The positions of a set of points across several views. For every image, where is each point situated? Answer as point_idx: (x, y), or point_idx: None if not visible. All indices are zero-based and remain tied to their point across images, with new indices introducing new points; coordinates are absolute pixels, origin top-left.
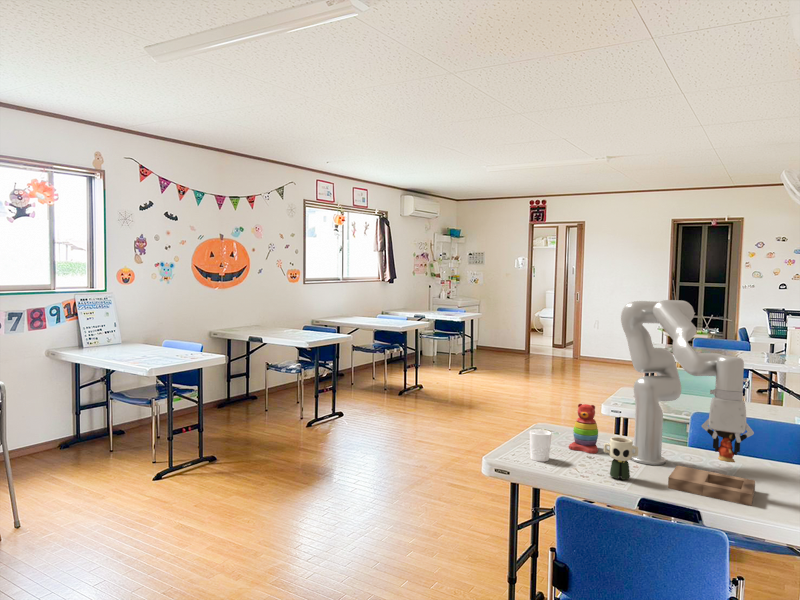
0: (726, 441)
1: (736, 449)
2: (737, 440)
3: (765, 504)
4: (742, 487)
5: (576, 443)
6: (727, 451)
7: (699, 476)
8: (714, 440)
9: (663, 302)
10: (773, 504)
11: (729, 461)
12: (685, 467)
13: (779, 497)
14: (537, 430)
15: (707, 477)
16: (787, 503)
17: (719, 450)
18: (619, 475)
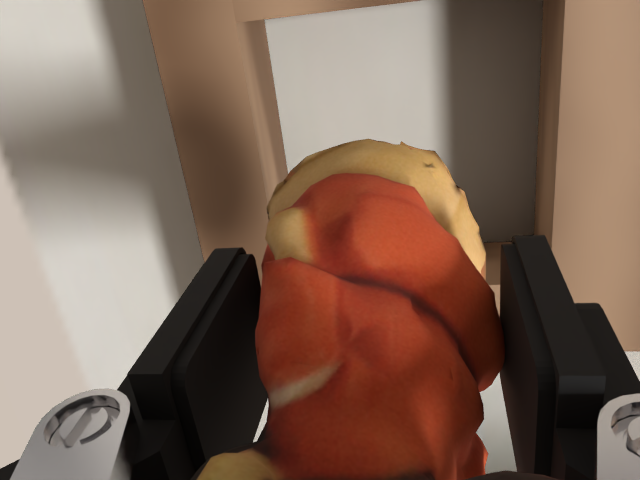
0: (346, 382)
1: (190, 290)
2: (110, 431)
3: (121, 71)
4: (243, 94)
5: None
6: (332, 223)
7: (626, 144)
8: (614, 396)
9: None
10: (89, 115)
11: (320, 162)
12: None
13: (115, 286)
14: None
15: (550, 211)
16: (48, 204)
17: (472, 264)
18: None
